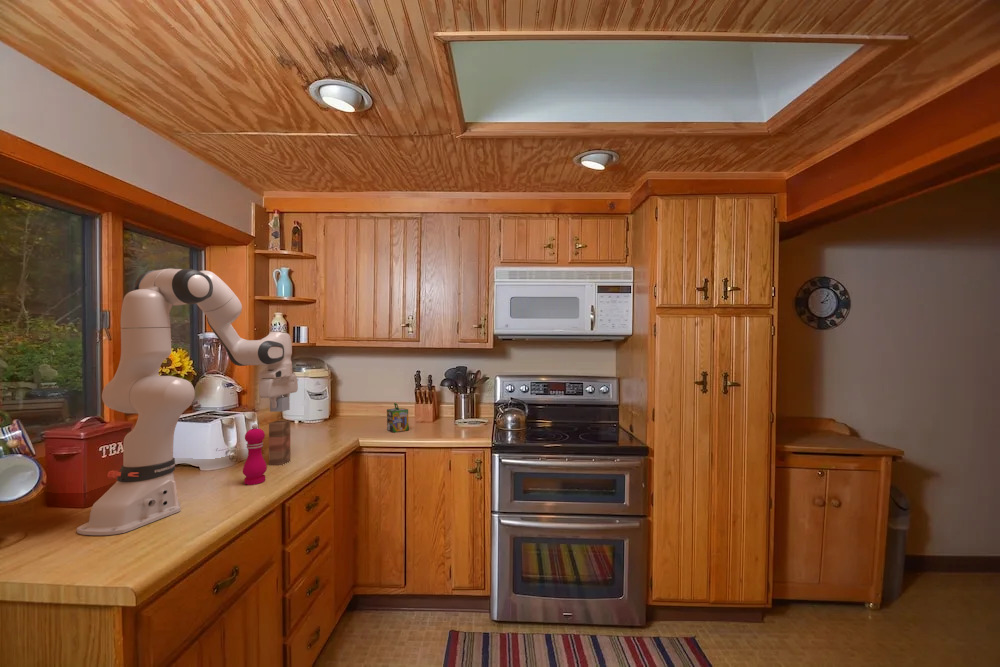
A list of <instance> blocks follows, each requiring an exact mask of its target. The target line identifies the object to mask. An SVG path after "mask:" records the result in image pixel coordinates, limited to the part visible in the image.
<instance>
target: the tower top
mask: <svg viewBox="0 0 1000 667" xmlns="http://www.w3.org/2000/svg"><path fill="white" fill-rule="evenodd" d="M287 435H290V436H291V420H276V421H273V422H269V423H268V438H269V437H285V436H287Z"/></svg>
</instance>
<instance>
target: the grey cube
mask: <svg viewBox="0 0 1000 667" xmlns="http://www.w3.org/2000/svg"><path fill="white" fill-rule="evenodd" d="M276 402H277V403H278V407H277V408H272V404H271V402H270V401H269V412H270V413H271V412H275V413H276V412H277V413H279V412H280V413H281V412H287V411H289V410H290V396H289V397H284V396H277V399H276Z"/></svg>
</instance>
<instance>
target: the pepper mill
mask: <svg viewBox="0 0 1000 667" xmlns="http://www.w3.org/2000/svg"><path fill="white" fill-rule="evenodd" d="M258 427H259V426H258V424H256V423H254V424H253V425H251V429H249V430H248V431H246V432H245V435H244V440H245V442H247V443H246V449H247V457H246V460H245V463H244V465H243V467H242V474H243V475H244V476H245V477H244V479H243V480H244V485H246V484H247V485H246V486H253V485H254V484H255V485H260V484H262V483H264V482H265V480H266V475H265V473H266V472H267V468H268V467H267V463H266V460H265V459H264V456H263V454H262V449H263V448H262V447H263V446H264V442H263V440H264V439H265V437H266V435H265V431H264V430H263V429H261V428H258ZM259 483H260V484H259ZM255 485H254V486H255Z"/></svg>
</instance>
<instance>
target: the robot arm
mask: <svg viewBox="0 0 1000 667" xmlns="http://www.w3.org/2000/svg"><path fill="white" fill-rule="evenodd" d="M195 304H196V305H197V306H198V307H199V309H200V310H201V311H202V312H203V314H205V316H206V321H207V323H208V326H209V328H211V331H212V332H213V334H214V335H215V336H216V337H217V339H218V340H219V342H221V344H222V346H223V347H224V349H225V350H226V351H225V352H226V353H227V357H228V358H229V360H230V362H231V363H232V364H233V365H236V366H238V367H244V366H245V367H246V366H266V368H265V369H262V370H261V371H260V372H259V373H258V379H260V380H259V381H258V394H259V397H260V398H261V399H269V403H270V402H271V404H272V408H277V407H278V403H277V402H276V399H277V397H281V396H282V397H289V398H290V397H291V394H293V393H297V392H298V389H299V387H298V378H297V374H296V372H295V371H294V370H293V361H292V355H293V345H292V344H293V343H292V337H291V336H290V333H288V332H285V331H276V330H273V331H270V332H269V333H268V335H266V336H265V337H263V338H261V339H257V340H256V339H253V340H252V339H245V338H242V337H241V336H239V333H238V332H237V331H236V330H235V327H233V325H232V324H233V323H234V322H235V321H236V320H237V319H238V318H239V317H240V316H241V314H242V311H243V305H242V302H241V301H240V299H239V297H238V296H237V295H236V294H235V292H234V291H233V290H232V289H231V288H230V286H229V285H228V284H227V283H225V281H223V279H221V278H220V277H219V276H218V275H217V274H215V273H214V272H212V271H210V270H196V269H193V268H184V269H183V268H164V269H156V270H155V269H154V270H149V271H146V272H144V273H141V275H139V276H138V277H137V279H136V281H135V283H134V288H133V290H132V291H128V292H127V293H126V294H125V295H124V296H123V300H122V304H121V310H120V357H119V358H120V359H119V362H118V363H119V364H118V367H117V369H116V372H115V374H114V376H113V377H112V379H110V380H109V382H108V383H106V385H105V386H104V388H103V389H102V391H101V392H102V393H101V400H102V402H103V404H104V405H105V406H106V408H109V409H111V410H113V411H117V412H120V413H124V414H136V415H137V414H138V416H137V420H136V423H135V425H134V427H133V428H132V430H131V431H129V432H128V433H127V434H126V435H125V436H124V438H123V450H122V451H123V456H122V457H123V458H122V459H123V464H122V465H121V467H120V469H119V470H110V471H108V473H107V476H106V477H107V478H108V479H116V482H115V483H114V484H113V485H112V486H111V487H110V488H109V489H107V491H106V492H105V493H103V495H102V496H101V497H99V499H97V500H96V501H95V502H93V505H92V506H91V509H90V513H89V518H88V520H89V521H87V522H85V523H84V524H82V525H80V526H77V528H76V533H77V534H78V535H79V534H80V535H84V536H111V535H119V534H124V533H127V532H131V531H133V530H136V529H139V528H140V527H143V526H145V525H146V526H147V525H148V524H151V523H153V522H156V521H158V520H161V519H164V518H166V517H169V516H171V515H174V514H177V513H179V512H181V510H182V509H181V502H180V501H179V498H178V491H177V484H176V479H175V475H174V471H176V461H175V460H176V459H175V457H174V436H175V430H176V427H177V424H178V421H179V419H180V418H181V415H182V414H183V413H184V412H185V411H186V410H187V409H188V408H190V406H191V405H192V404H193V402H194V399H195V395H196V392H195V387H194V386H193V384H192V383H191V382H190V381H189V380H188V379H185V378H181V377H177V376H173V375H159V374H160V373H159V372H160V369H161V366H162V364H163V362H164V361H165V360H166V359H168V358H169V357H170V355H171V354H172V334H171V333H172V332H171V331H172V330H171V329H172V328H171V318H170V313H171V311H172V310H171V309H172V308H173V306H182V305H195Z"/></svg>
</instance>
